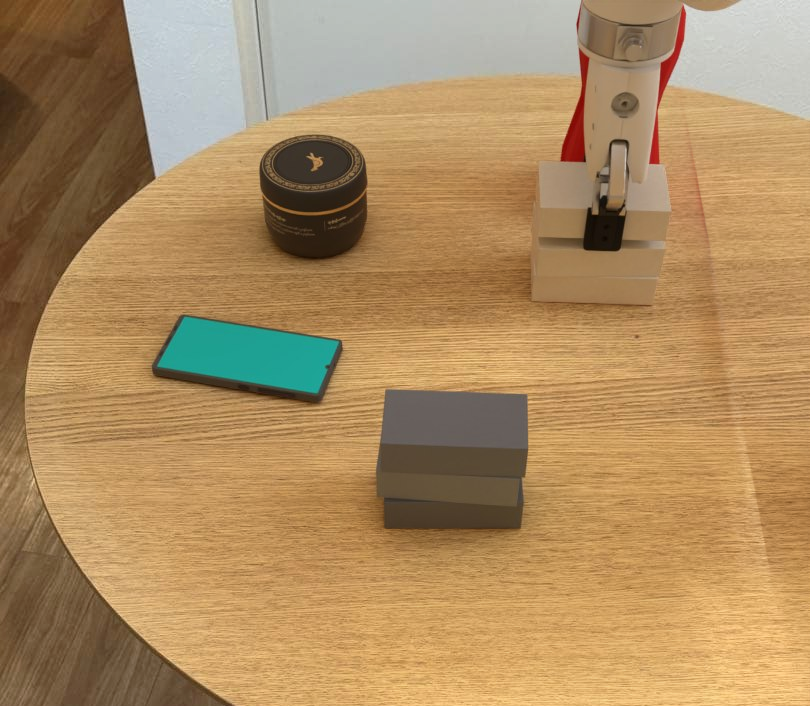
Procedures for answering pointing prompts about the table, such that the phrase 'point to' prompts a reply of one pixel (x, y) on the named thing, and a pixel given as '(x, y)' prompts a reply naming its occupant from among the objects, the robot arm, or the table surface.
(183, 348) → the smartphone
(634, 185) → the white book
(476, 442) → the grey pile
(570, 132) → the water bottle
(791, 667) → the table surface
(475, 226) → the table surface
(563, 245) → the white pile
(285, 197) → the jar
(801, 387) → the table surface
